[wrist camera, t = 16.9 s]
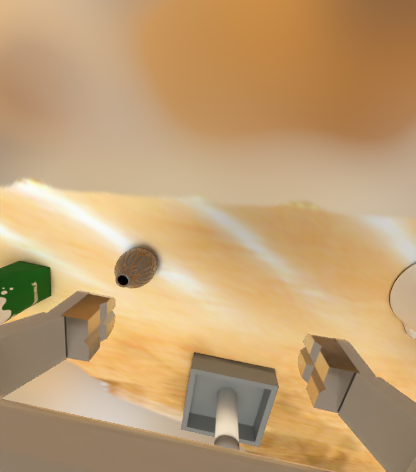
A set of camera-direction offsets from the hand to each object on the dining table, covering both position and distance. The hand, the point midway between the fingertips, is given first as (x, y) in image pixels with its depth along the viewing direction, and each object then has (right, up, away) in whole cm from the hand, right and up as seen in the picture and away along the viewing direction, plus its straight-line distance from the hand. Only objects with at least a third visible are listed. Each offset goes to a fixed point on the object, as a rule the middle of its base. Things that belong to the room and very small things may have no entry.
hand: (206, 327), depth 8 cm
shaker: (+4, -33, +37) cm, 50 cm away
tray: (+4, -32, +38) cm, 50 cm away
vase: (-13, -1, +32) cm, 35 cm away
